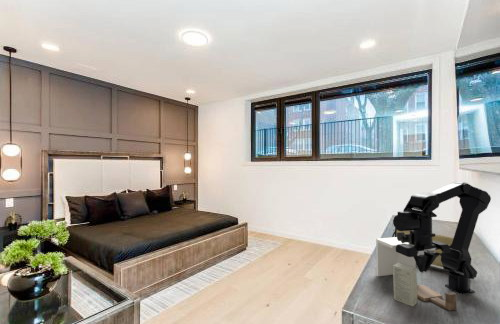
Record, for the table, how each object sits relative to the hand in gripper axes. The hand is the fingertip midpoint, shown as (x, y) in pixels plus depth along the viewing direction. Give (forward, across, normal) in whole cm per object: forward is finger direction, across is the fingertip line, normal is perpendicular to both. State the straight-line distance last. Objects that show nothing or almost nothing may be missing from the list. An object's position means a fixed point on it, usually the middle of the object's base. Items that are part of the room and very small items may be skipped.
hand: (422, 271), depth 90 cm
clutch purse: (+9, -25, -21) cm, 34 cm away
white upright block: (+8, 0, -12) cm, 15 cm away
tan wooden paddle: (+8, 0, 0) cm, 8 cm away
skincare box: (+8, +10, +2) cm, 13 cm away
